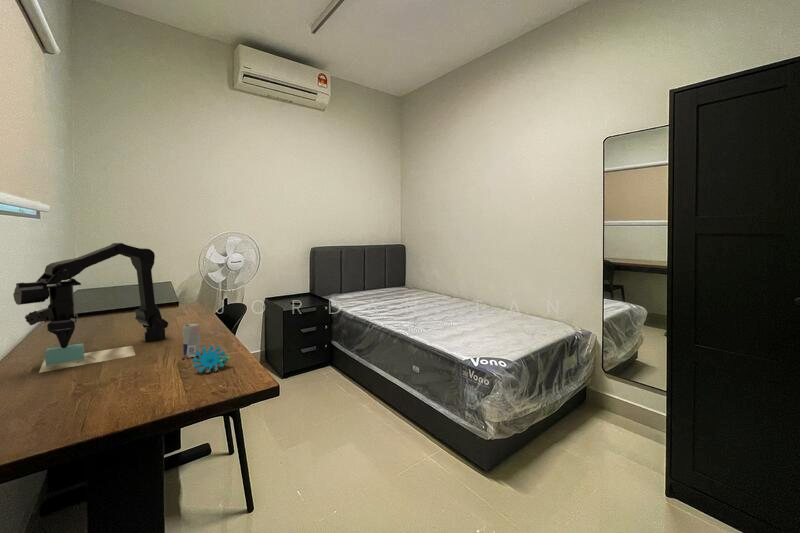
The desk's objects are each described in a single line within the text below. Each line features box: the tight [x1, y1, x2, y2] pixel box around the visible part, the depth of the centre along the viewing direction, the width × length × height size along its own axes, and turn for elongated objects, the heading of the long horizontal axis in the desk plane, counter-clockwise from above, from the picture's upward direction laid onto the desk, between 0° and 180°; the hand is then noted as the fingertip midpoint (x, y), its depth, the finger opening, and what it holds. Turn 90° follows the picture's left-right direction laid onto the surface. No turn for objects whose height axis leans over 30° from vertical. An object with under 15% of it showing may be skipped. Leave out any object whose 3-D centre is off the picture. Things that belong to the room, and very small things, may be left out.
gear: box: [191, 345, 231, 374], centre depth 113 cm, size 11×6×10 cm
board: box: [38, 345, 136, 373], centre depth 118 cm, size 24×14×1 cm, turn 133°
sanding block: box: [44, 342, 85, 367], centre depth 113 cm, size 9×5×5 cm, turn 132°
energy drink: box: [182, 322, 201, 359], centre depth 124 cm, size 5×5×12 cm
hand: (65, 344), depth 113 cm, fingers open, 9 cm apart
